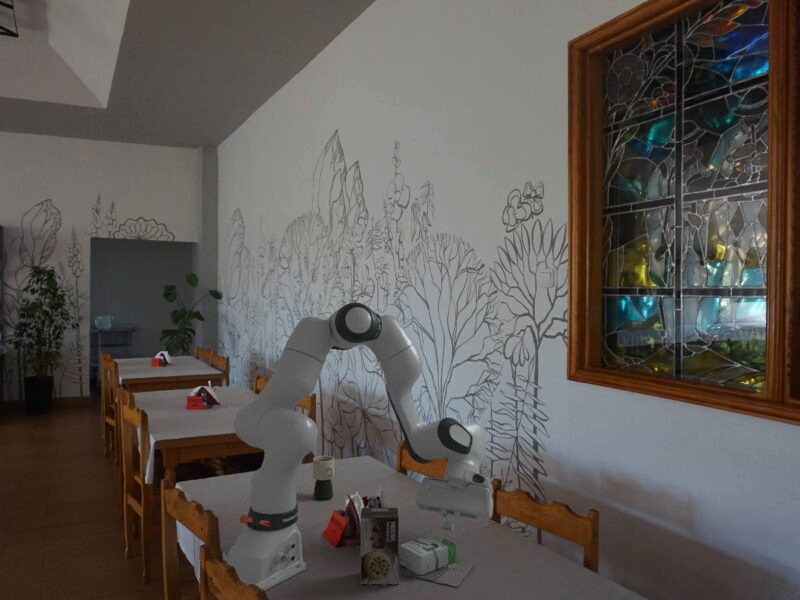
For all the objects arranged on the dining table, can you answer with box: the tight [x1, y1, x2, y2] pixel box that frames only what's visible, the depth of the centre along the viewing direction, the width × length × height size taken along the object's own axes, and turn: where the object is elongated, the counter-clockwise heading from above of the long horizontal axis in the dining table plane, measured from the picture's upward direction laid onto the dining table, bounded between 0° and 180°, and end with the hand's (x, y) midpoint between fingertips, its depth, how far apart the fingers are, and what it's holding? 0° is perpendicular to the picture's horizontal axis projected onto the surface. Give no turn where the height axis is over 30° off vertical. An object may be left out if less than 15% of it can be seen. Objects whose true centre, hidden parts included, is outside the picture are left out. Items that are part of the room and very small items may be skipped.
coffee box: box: [359, 507, 400, 586], centre depth 149 cm, size 9×6×16 cm
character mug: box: [312, 455, 336, 500], centre depth 204 cm, size 11×7×13 cm, turn 38°
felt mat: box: [402, 565, 461, 582], centre depth 154 cm, size 12×14×1 cm
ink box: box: [399, 533, 457, 575], centre depth 157 cm, size 9×5×12 cm
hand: (446, 529), depth 158 cm, fingers closed
